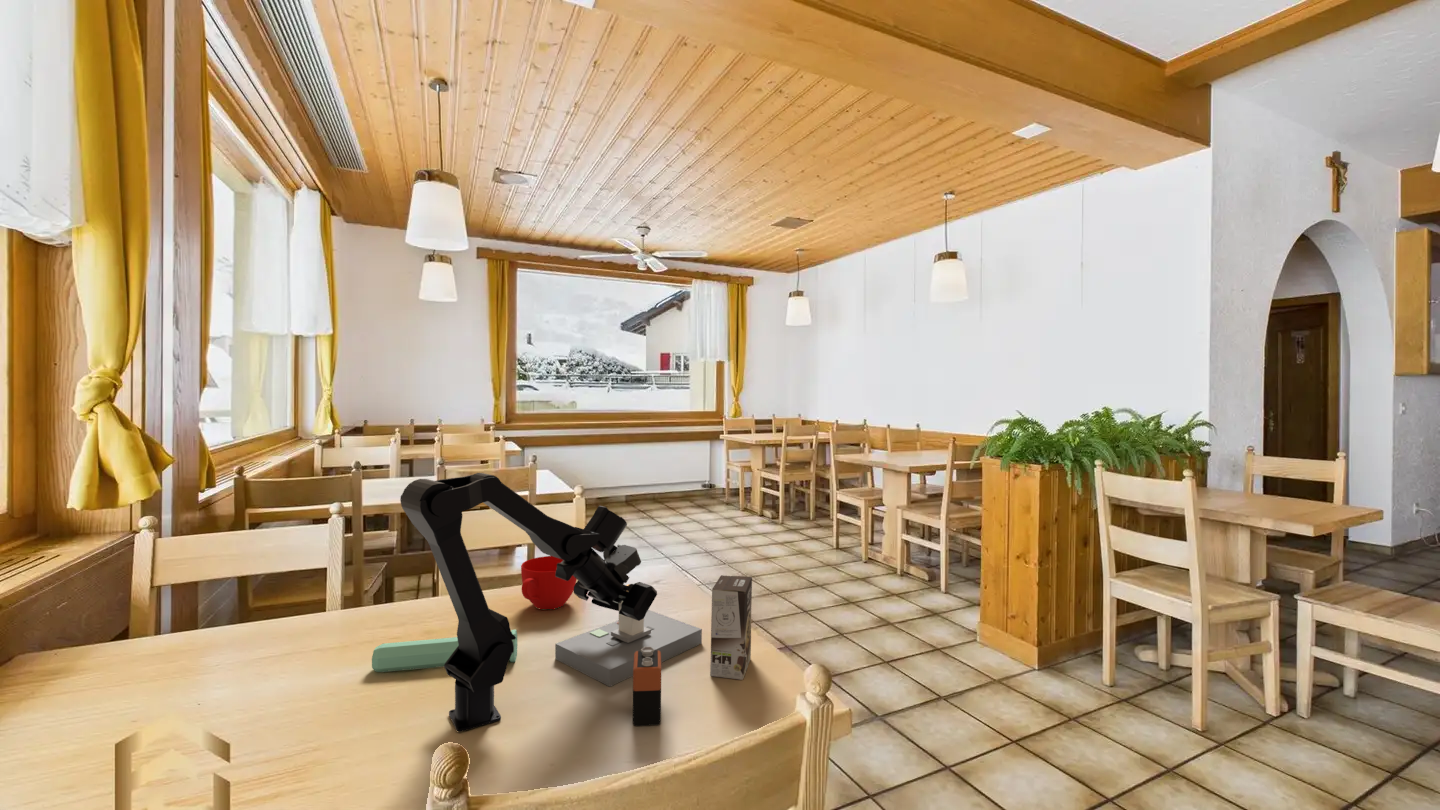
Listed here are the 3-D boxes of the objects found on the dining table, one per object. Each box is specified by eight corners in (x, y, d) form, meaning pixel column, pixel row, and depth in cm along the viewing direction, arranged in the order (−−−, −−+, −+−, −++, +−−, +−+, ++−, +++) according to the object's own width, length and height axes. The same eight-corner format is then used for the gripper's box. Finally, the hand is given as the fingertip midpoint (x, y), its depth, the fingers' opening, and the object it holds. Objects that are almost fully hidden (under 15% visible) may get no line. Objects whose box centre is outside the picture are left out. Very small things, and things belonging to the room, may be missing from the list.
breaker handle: (627, 642, 118) (628, 594, 118) (610, 635, 121) (611, 588, 121) (650, 633, 122) (651, 587, 122) (633, 626, 126) (634, 581, 125)
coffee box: (744, 680, 111) (745, 591, 110) (709, 676, 112) (710, 588, 111) (751, 658, 119) (753, 576, 119) (719, 655, 121) (720, 573, 120)
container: (368, 641, 111) (514, 629, 116) (378, 641, 116) (517, 629, 122) (365, 677, 109) (513, 663, 114) (375, 675, 114) (517, 661, 120)
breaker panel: (609, 686, 108) (609, 668, 107) (555, 659, 118) (555, 642, 118) (701, 643, 126) (701, 628, 126) (647, 622, 136) (647, 608, 136)
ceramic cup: (498, 617, 138) (498, 573, 138) (541, 593, 154) (541, 553, 154) (549, 625, 134) (549, 579, 134) (587, 599, 150) (588, 558, 150)
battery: (660, 703, 102) (660, 644, 102) (660, 726, 96) (661, 662, 95) (633, 704, 102) (634, 644, 102) (632, 727, 95) (633, 663, 95)
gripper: (650, 543, 112) (690, 589, 121) (586, 527, 124) (627, 569, 133) (616, 597, 106) (661, 641, 115) (552, 574, 118) (597, 615, 127)
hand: (636, 613), depth 123 cm, fingers closed on breaker handle, 4 cm apart
